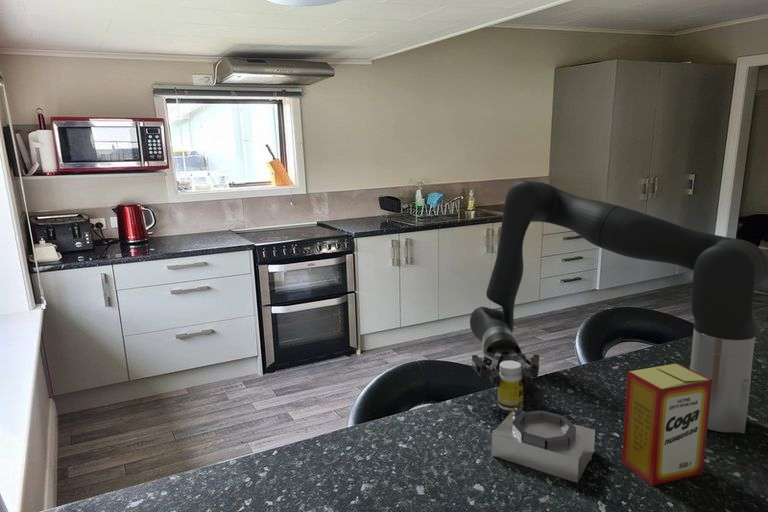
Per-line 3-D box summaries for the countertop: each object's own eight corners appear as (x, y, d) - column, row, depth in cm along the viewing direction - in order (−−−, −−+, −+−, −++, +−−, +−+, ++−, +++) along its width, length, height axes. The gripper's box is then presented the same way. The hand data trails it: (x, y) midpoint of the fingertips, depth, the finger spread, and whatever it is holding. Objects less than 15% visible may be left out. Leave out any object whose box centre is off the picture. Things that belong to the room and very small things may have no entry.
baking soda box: (652, 485, 79) (659, 386, 76) (621, 461, 85) (627, 369, 82) (702, 473, 82) (712, 377, 78) (669, 451, 88) (677, 361, 85)
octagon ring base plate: (593, 451, 88) (595, 423, 87) (577, 483, 80) (578, 452, 79) (513, 428, 96) (514, 402, 95) (491, 455, 88) (491, 426, 87)
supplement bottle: (523, 412, 99) (523, 370, 97) (497, 410, 100) (497, 369, 98) (522, 400, 103) (522, 359, 102) (497, 398, 104) (497, 358, 102)
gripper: (467, 331, 114) (473, 363, 97) (534, 331, 113) (552, 362, 96) (467, 364, 116) (473, 401, 99) (534, 363, 114) (551, 400, 98)
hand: (512, 382), depth 98 cm, fingers closed on supplement bottle, 4 cm apart
